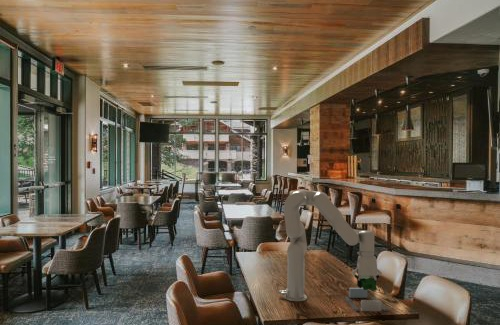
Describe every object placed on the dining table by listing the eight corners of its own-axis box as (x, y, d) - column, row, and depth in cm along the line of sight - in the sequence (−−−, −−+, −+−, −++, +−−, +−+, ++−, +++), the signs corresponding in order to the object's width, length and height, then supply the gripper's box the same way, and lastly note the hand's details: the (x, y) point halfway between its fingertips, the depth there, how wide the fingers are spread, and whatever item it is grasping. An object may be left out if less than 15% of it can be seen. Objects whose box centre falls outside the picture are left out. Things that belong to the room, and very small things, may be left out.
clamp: (362, 294, 223) (356, 278, 227) (372, 292, 223) (366, 275, 227) (366, 292, 212) (360, 274, 216) (377, 289, 212) (371, 272, 216)
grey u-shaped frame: (355, 311, 210) (356, 301, 210) (344, 299, 230) (345, 290, 230) (387, 311, 211) (387, 301, 211) (374, 299, 231) (374, 290, 231)
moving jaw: (350, 297, 232) (350, 288, 232) (348, 296, 234) (349, 287, 234) (367, 297, 232) (367, 288, 232) (366, 296, 234) (366, 287, 234)
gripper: (352, 255, 216) (352, 289, 215) (385, 255, 217) (385, 289, 216) (348, 252, 223) (348, 285, 223) (380, 252, 224) (380, 285, 224)
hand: (366, 287), depth 220 cm, fingers closed on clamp, 7 cm apart
